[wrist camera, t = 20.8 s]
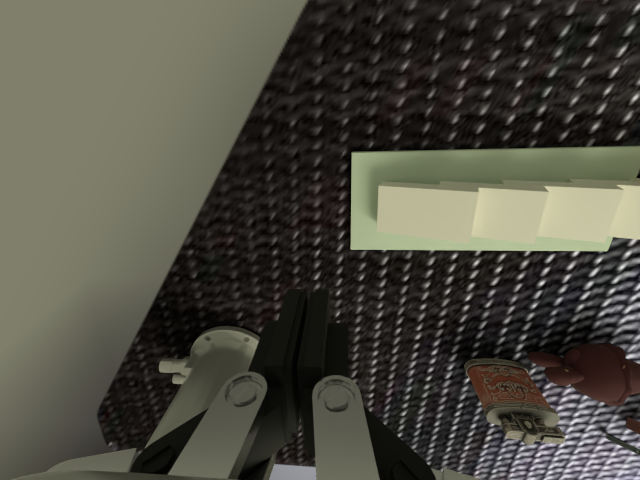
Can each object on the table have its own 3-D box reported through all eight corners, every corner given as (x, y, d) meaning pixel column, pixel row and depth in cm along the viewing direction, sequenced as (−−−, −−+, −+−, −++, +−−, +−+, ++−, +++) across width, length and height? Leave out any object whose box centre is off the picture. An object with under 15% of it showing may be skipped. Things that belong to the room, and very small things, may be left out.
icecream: (717, 370, 32) (558, 350, 34) (698, 433, 33) (546, 410, 35) (655, 338, 38) (526, 324, 41) (641, 391, 40) (517, 374, 42)
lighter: (461, 374, 43) (492, 447, 34) (466, 356, 42) (500, 426, 32) (520, 379, 42) (568, 453, 33) (527, 361, 41) (579, 433, 32)
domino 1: (376, 231, 32) (469, 243, 29) (378, 185, 30) (478, 192, 27) (381, 225, 34) (469, 235, 30) (383, 181, 32) (478, 186, 28)
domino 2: (433, 232, 32) (534, 243, 28) (439, 185, 30) (549, 191, 26) (434, 225, 34) (530, 236, 30) (440, 180, 31) (544, 186, 28)
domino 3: (494, 232, 31) (604, 242, 28) (503, 184, 29) (624, 189, 26) (492, 225, 33) (596, 234, 30) (501, 179, 31) (614, 184, 28)
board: (350, 246, 36) (350, 249, 35) (351, 151, 32) (351, 152, 31) (601, 247, 34) (607, 251, 33) (640, 145, 29) (648, 146, 29)
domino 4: (560, 231, 31) (682, 243, 27) (574, 183, 29) (708, 189, 25) (555, 224, 32) (670, 235, 29) (569, 178, 30) (693, 183, 27)
